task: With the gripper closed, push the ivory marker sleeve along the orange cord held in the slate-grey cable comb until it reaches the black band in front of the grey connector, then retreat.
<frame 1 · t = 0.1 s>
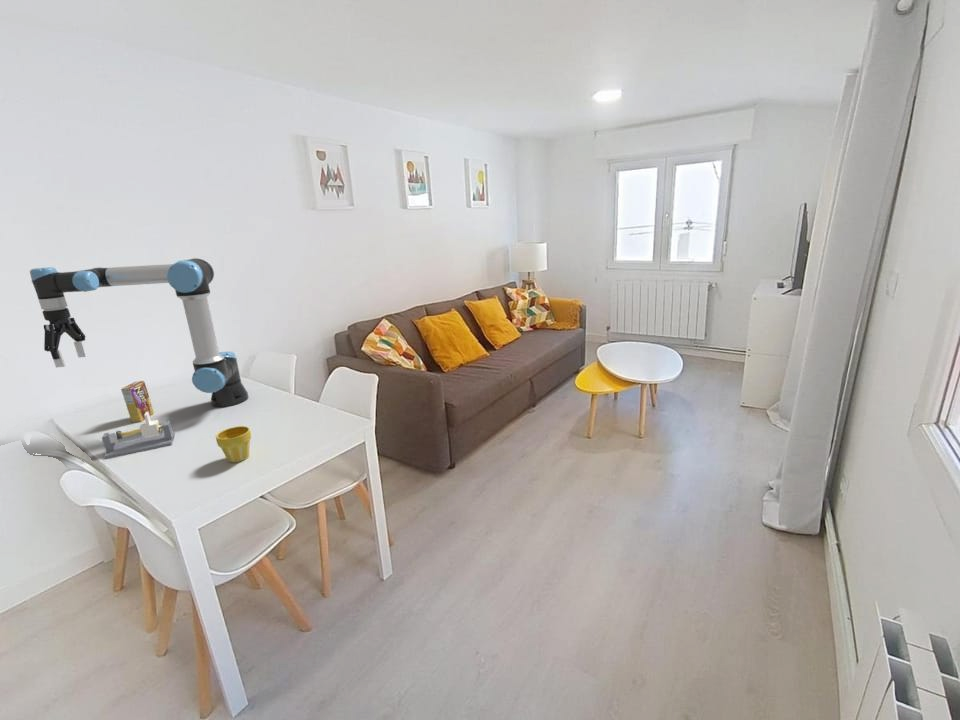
hand: (72, 361, 180), 28 cm above the table, fingers open, 13 cm apart
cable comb: (141, 446, 169), on the table
plant pot: (238, 458, 158), on the table
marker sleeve: (149, 423, 168), point 8 cm above the table, slide at 0.0 cm
candy box: (142, 418, 195), on the table
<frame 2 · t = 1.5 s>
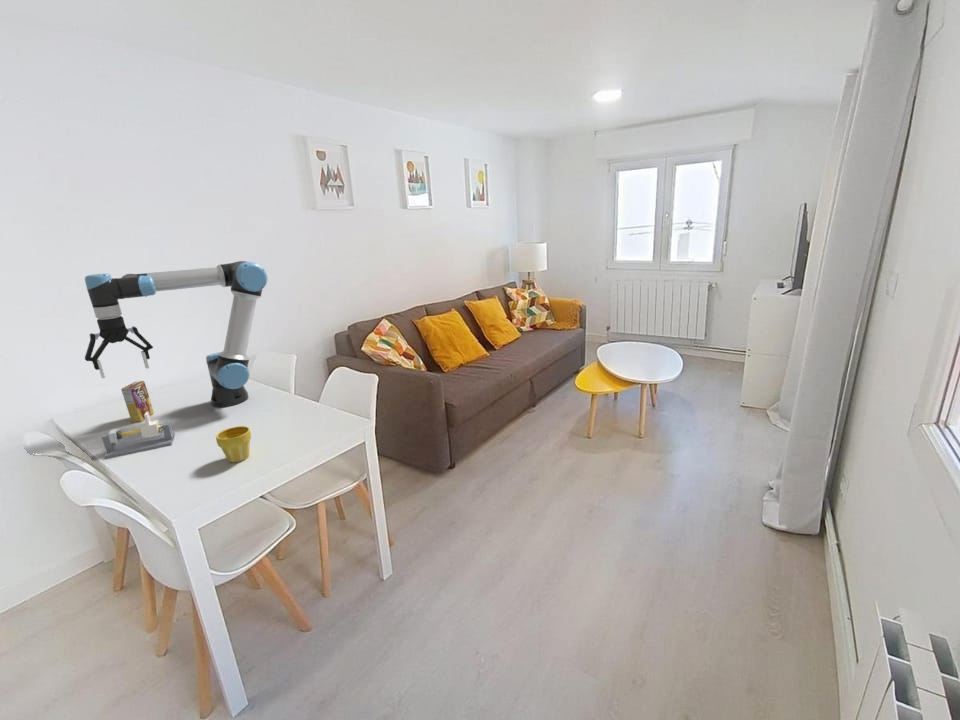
hand: (125, 372, 171), 26 cm above the table, fingers open, 13 cm apart
nothing on the table moved.
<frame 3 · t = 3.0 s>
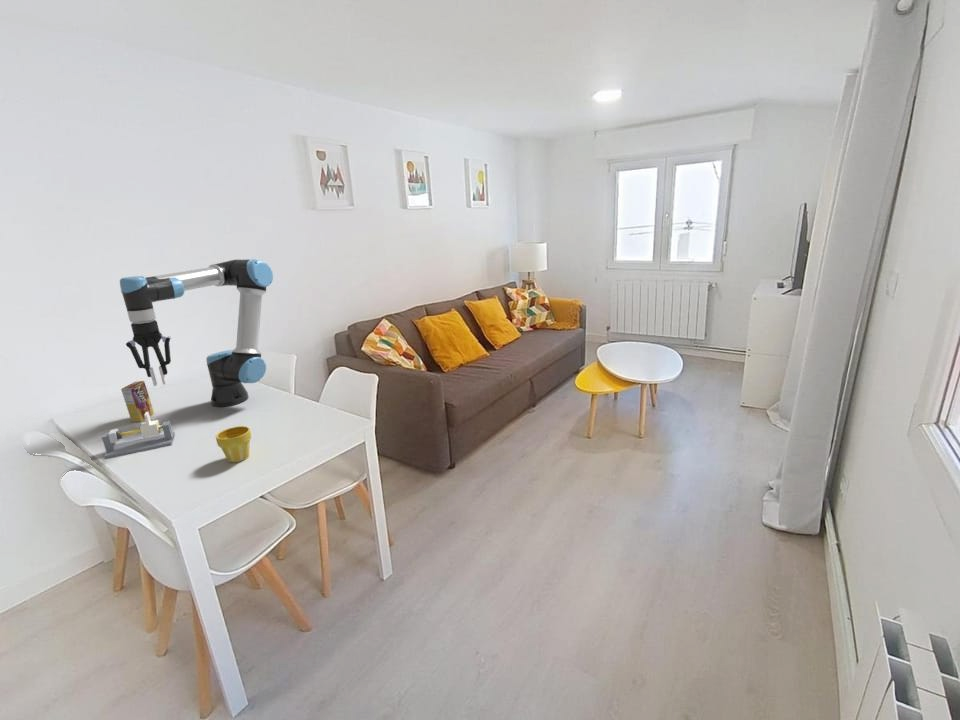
hand: (160, 383, 167), 22 cm above the table, fingers open, 2 cm apart
nothing on the table moved.
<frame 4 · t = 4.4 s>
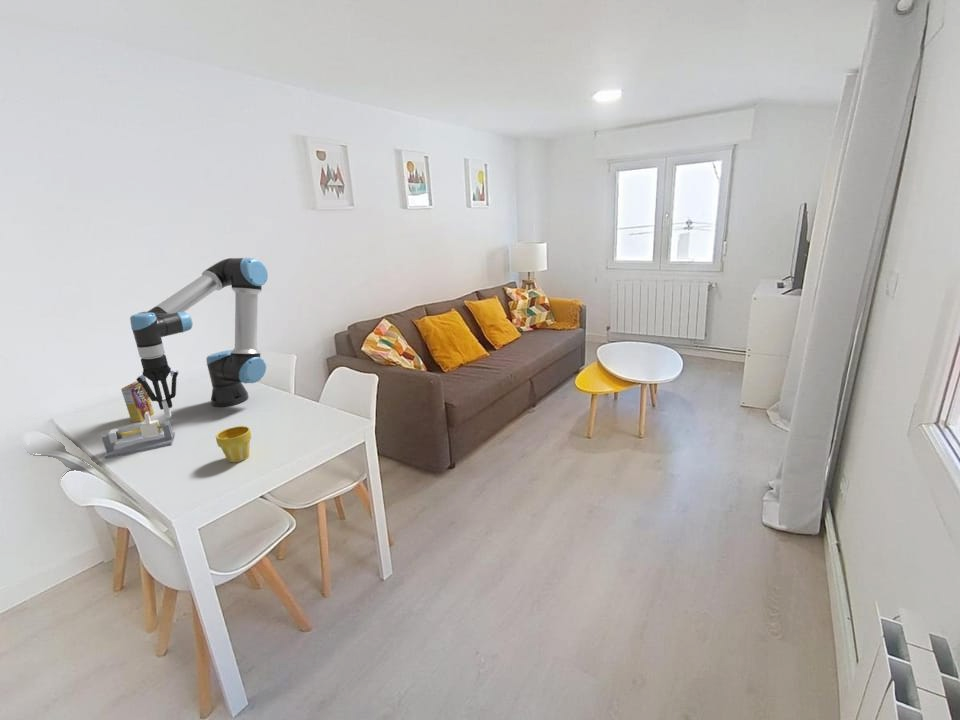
hand: (168, 416, 171), 10 cm above the table, fingers closed
nothing on the table moved.
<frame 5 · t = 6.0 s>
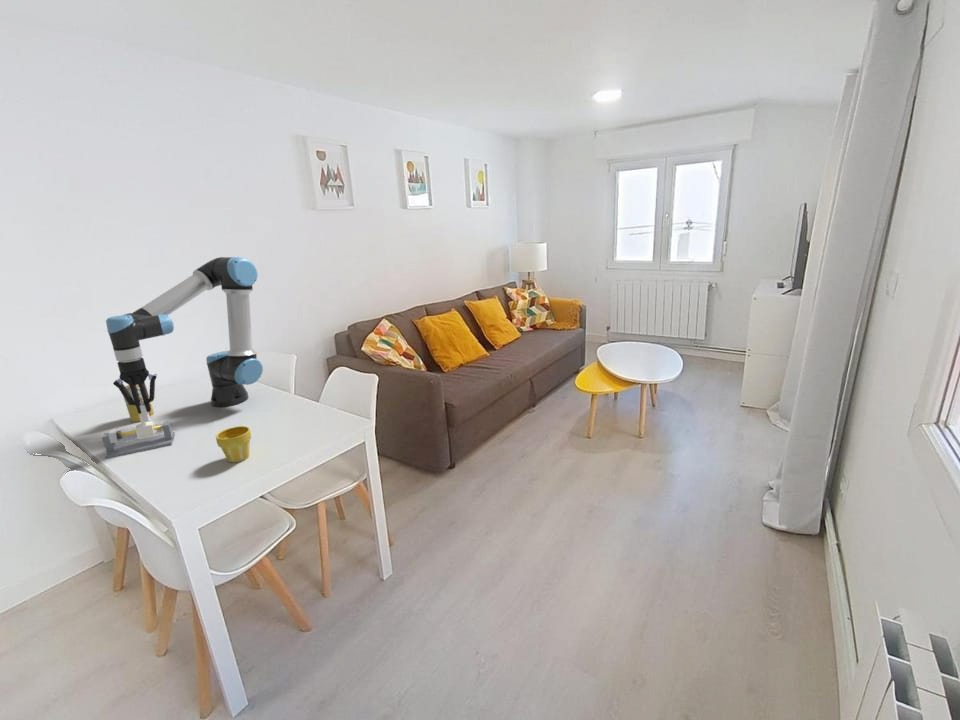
hand: (147, 420, 168), 10 cm above the table, fingers closed
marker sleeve: (144, 424, 168), point 8 cm above the table, slide at 1.4 cm, touching gripper
everything else where it was.
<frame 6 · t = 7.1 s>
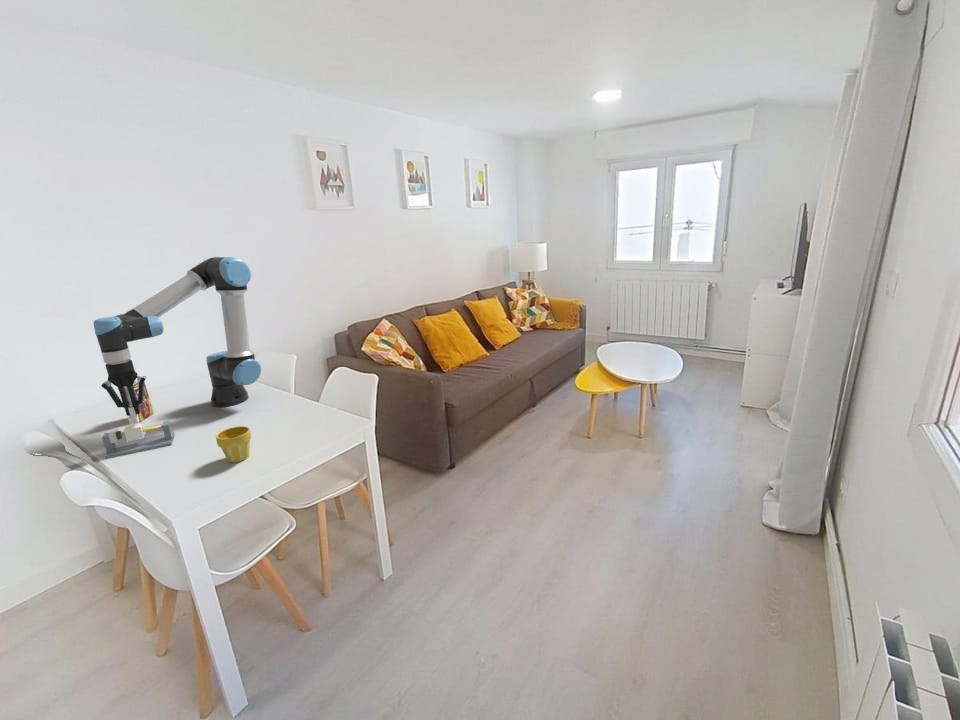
hand: (136, 422, 167), 9 cm above the table, fingers closed
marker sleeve: (133, 426, 166), point 8 cm above the table, slide at 4.8 cm, touching gripper
everything else where it was.
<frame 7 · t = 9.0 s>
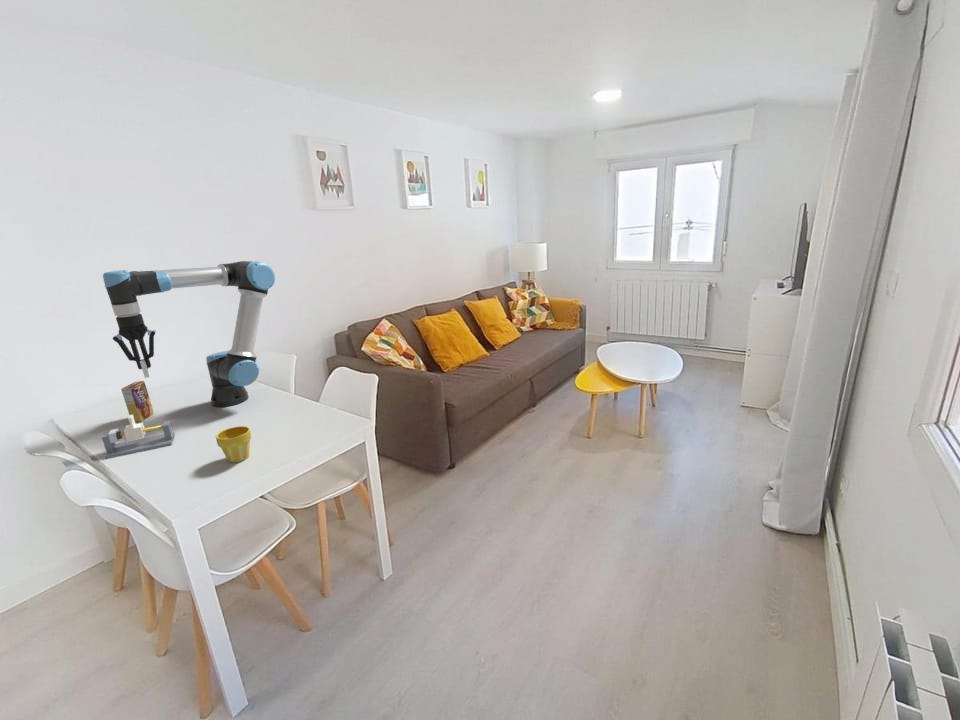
hand: (147, 376, 170), 24 cm above the table, fingers closed
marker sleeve: (133, 426, 166), point 8 cm above the table, slide at 4.8 cm
everything else where it was.
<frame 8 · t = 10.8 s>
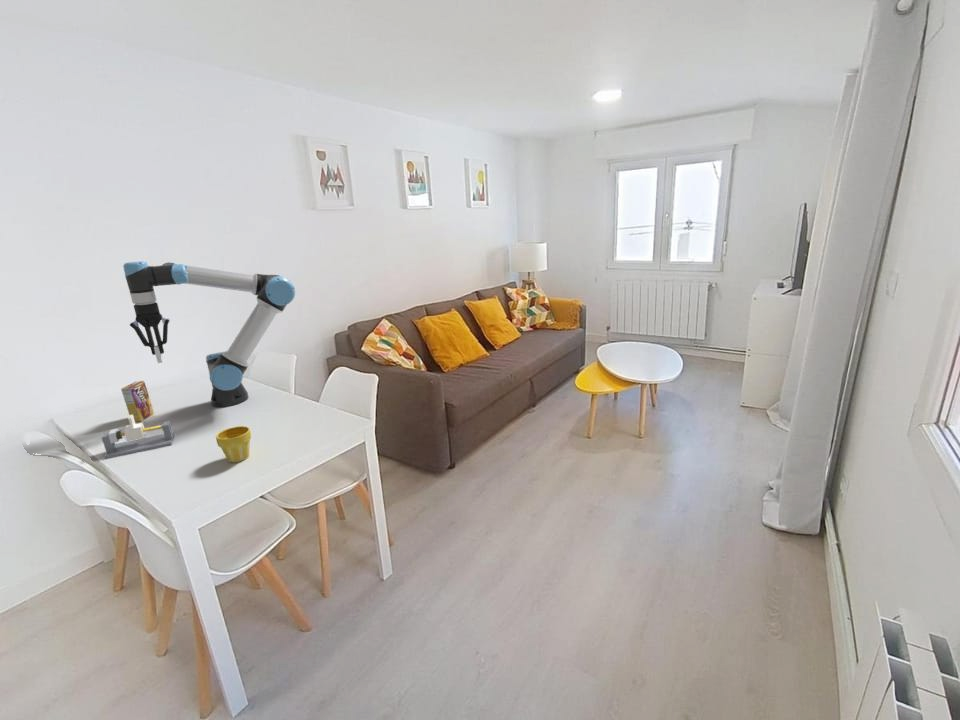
hand: (160, 361, 181), 26 cm above the table, fingers closed
nothing on the table moved.
at the end: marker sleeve slide at 4.8 cm; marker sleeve touching nothing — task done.
